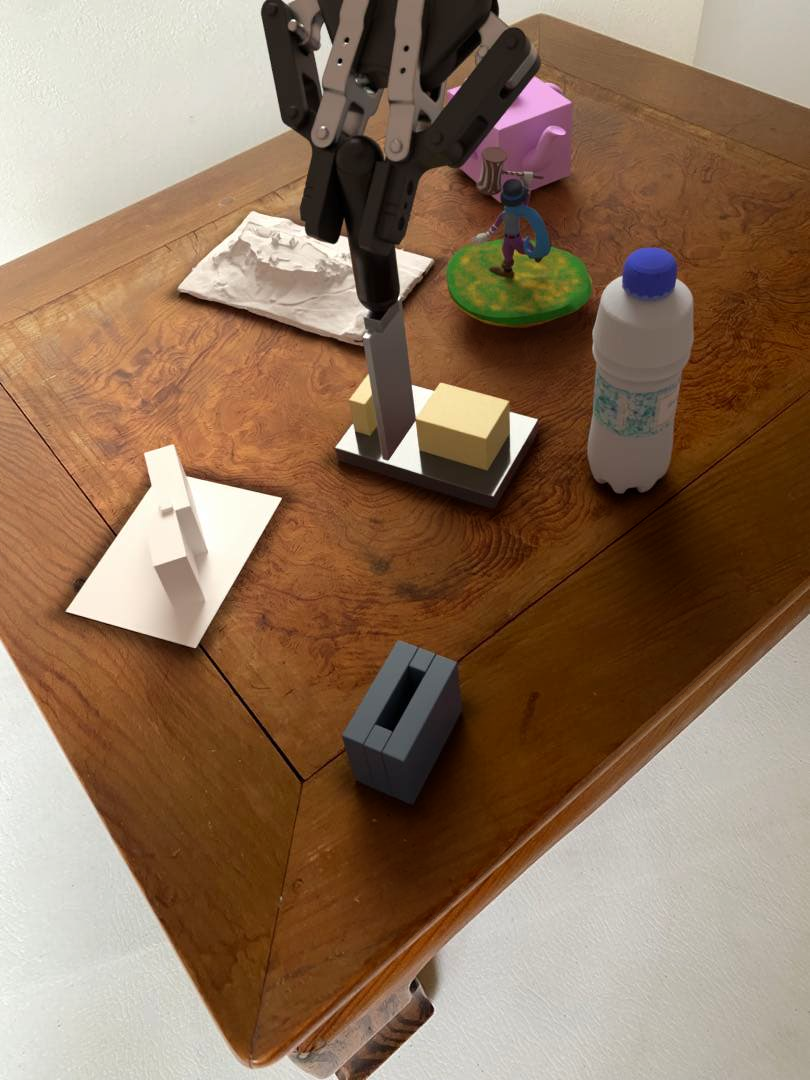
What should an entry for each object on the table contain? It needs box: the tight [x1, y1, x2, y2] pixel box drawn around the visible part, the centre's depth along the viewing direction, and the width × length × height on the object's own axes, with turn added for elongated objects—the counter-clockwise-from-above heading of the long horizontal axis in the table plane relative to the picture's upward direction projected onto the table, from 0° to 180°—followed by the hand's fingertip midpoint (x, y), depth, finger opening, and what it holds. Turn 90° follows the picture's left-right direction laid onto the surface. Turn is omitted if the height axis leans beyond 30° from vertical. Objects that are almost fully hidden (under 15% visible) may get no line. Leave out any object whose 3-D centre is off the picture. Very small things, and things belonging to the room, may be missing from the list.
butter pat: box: [348, 373, 377, 436], centre depth 81 cm, size 2×4×4 cm, turn 153°
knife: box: [335, 134, 416, 461], centre depth 51 cm, size 2×4×19 cm, turn 153°
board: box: [334, 384, 539, 510], centre depth 81 cm, size 14×9×2 cm, turn 63°
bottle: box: [587, 247, 695, 495], centre depth 70 cm, size 7×7×20 cm
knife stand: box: [341, 639, 463, 805], centre depth 62 cm, size 4×7×6 cm, turn 153°
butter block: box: [416, 382, 511, 470], centre depth 78 cm, size 6×4×4 cm
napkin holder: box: [65, 443, 283, 649], centre depth 74 cm, size 15×11×6 cm
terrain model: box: [177, 210, 435, 347], centre depth 96 cm, size 17×23×5 cm
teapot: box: [446, 75, 574, 204], centre depth 101 cm, size 18×14×10 cm
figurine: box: [445, 147, 593, 328], centre depth 86 cm, size 14×13×15 cm
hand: (347, 244), depth 46 cm, fingers closed on knife, 2 cm apart
